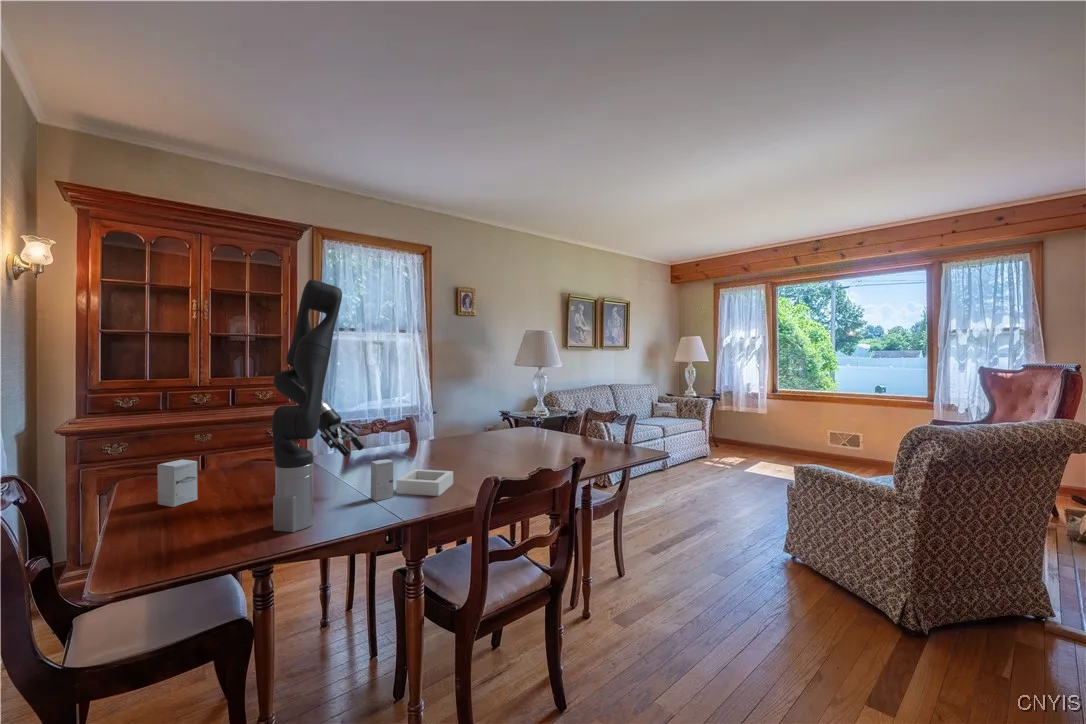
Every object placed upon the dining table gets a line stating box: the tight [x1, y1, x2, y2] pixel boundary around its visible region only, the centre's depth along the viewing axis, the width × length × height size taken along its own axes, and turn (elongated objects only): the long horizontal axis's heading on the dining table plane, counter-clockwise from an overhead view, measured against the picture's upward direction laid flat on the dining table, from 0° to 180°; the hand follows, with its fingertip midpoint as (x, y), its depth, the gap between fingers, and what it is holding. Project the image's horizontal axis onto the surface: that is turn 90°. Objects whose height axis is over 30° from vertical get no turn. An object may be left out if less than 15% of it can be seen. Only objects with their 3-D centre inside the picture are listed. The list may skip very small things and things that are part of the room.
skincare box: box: [370, 458, 394, 502], centre depth 152 cm, size 6×4×12 cm
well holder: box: [395, 468, 454, 497], centre depth 163 cm, size 14×15×4 cm
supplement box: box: [157, 459, 198, 508], centre depth 146 cm, size 7×7×13 cm
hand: (355, 451), depth 153 cm, fingers open, 8 cm apart
